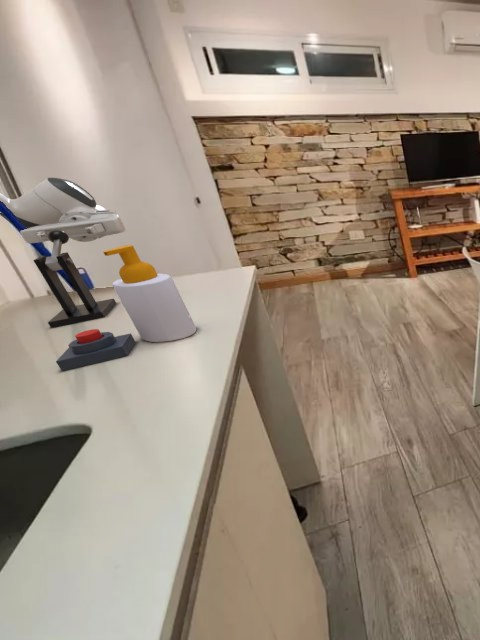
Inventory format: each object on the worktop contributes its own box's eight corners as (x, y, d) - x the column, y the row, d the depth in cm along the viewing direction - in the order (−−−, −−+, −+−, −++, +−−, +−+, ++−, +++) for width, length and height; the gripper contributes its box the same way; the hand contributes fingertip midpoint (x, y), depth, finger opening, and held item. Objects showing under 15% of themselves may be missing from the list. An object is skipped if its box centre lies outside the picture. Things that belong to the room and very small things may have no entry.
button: (77, 346, 95) (72, 338, 94) (82, 339, 98) (78, 332, 97) (100, 341, 97) (96, 333, 96) (105, 334, 100) (101, 327, 99)
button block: (61, 371, 94) (50, 353, 92) (75, 356, 100) (64, 339, 98) (127, 355, 98) (117, 338, 96) (135, 342, 104) (126, 325, 103)
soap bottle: (129, 340, 106) (80, 251, 97) (168, 324, 113) (125, 241, 104) (170, 344, 102) (122, 253, 93) (208, 328, 109) (167, 241, 100)
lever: (54, 240, 124) (44, 228, 121) (72, 237, 125) (63, 226, 123) (49, 273, 116) (39, 262, 114) (69, 270, 118) (59, 259, 115)
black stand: (67, 313, 125) (32, 255, 118) (116, 303, 130) (85, 247, 123) (50, 328, 116) (11, 266, 109) (104, 317, 120) (69, 257, 113)
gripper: (26, 221, 132) (4, 229, 121) (121, 209, 141) (109, 215, 130) (39, 243, 135) (19, 253, 124) (132, 230, 144) (120, 238, 133)
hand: (66, 233), depth 127 cm, fingers open, 8 cm apart
